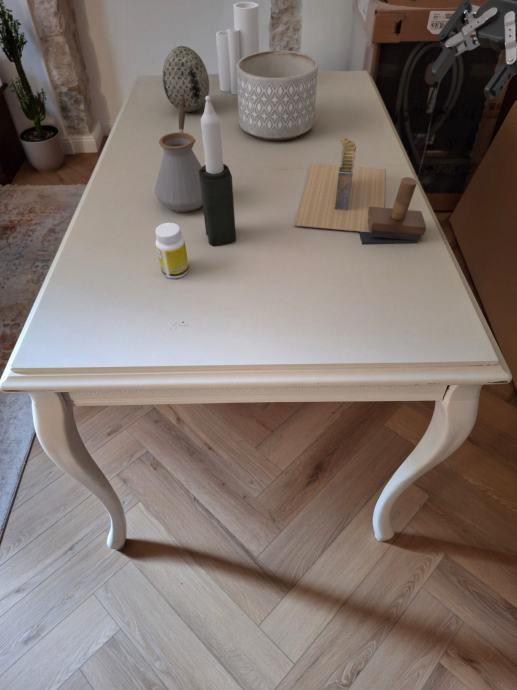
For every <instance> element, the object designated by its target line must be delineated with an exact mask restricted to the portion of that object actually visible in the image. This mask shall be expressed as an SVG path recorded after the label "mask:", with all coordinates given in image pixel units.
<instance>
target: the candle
mask: <svg viewBox="0 0 517 690" xmlns="http://www.w3.org/2000/svg"><path fill="white" fill-rule="evenodd" d="M205 100H206V101H205V105H204V111H203V114H202V116H201V117H200V125H201V126H200V127H201V137H202V146H203V156H204V165H203V166H202V168H201V169H200V170H199V178H200V186H201V194H202V203H203V205H202V209H203V211H202V212H203V218H204V226H205V227H204V228H205V235H206V236H207V240H208V245H210V246H212V247H219V246H225V245H231V244H234V243H235V242H236V241H237V234H236V233H237V232H236V231H237V230H236V218H235V204H234V189H233V188H234V187H233V175H232V172H231V171H230V168H229V166H228V165H227V164H226V163H224V158H223V156H224V155H223V145H222V133H221V132H222V131H221V120H220V119H221V118H220V117H219V115H218V114H217V113H216V111H215V109H214V106H213V104H212V97H211V96H210V95H208V96H206V98H205Z"/></svg>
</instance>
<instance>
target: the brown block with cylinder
mask: <svg viewBox="0 0 517 690" xmlns="http://www.w3.org/2000/svg"><path fill="white" fill-rule="evenodd" d="M417 184H418V181H417V180H416V179H415V178H413V177H410V176H404V177H402V178H401V180H400V183H399V187H398V190H397V192H396V196H395V199H394V202H393V205H392V207H384V208H382V207H372V206H370V207H369V210H368V226H369V232H370V236H371V237H382V238H393V239H403V240H414V241H418V242H420V240H421V238H422V236H424V235H425V233H426V231H427V225H426V222H425V218H424V215H423V212H422V210H414V209H409V208H410V205H411V202H412V199H413V197H414V196H413V195H414V193H415V190H416V187H417Z"/></svg>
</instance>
